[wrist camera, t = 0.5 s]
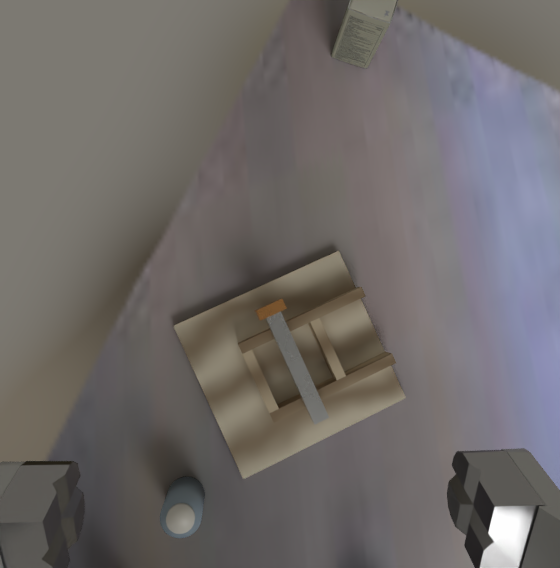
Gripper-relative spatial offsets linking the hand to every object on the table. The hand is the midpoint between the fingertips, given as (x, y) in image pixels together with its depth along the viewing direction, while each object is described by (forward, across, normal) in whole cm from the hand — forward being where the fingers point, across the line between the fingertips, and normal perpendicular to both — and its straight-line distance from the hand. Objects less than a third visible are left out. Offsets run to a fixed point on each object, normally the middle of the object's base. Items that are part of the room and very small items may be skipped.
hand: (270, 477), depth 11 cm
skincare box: (+61, +13, +13) cm, 63 cm away
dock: (+44, +5, -23) cm, 50 cm away
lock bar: (+41, +5, -22) cm, 46 cm away
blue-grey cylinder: (+37, -8, -37) cm, 53 cm away
